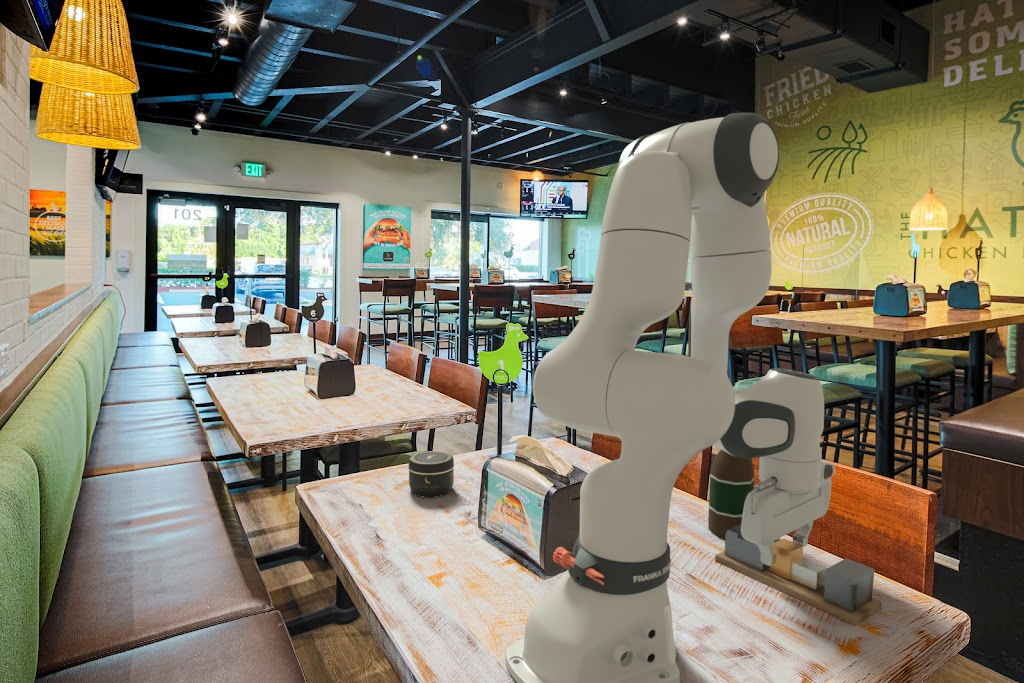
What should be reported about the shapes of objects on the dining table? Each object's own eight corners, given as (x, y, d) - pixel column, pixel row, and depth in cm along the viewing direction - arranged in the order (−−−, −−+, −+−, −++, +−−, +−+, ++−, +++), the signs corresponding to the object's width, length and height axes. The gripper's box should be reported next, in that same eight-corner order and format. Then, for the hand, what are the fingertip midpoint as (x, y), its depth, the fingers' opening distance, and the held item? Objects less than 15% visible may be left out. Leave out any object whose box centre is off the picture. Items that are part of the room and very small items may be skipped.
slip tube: (814, 591, 91) (816, 561, 90) (733, 555, 102) (734, 528, 101) (826, 584, 93) (828, 555, 92) (745, 549, 104) (746, 524, 103)
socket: (852, 613, 85) (854, 580, 84) (823, 600, 88) (826, 568, 88) (871, 600, 88) (874, 568, 88) (843, 588, 92) (846, 558, 91)
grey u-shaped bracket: (762, 572, 97) (763, 544, 96) (724, 555, 102) (725, 528, 102) (781, 563, 100) (782, 535, 99) (743, 547, 105) (744, 521, 105)
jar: (405, 498, 129) (404, 464, 129) (412, 482, 139) (412, 450, 138) (451, 498, 130) (451, 464, 129) (455, 482, 139) (455, 450, 139)
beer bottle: (755, 543, 109) (762, 413, 106) (710, 539, 111) (716, 410, 108) (747, 525, 117) (754, 403, 114) (705, 521, 118) (710, 401, 115)
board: (855, 625, 84) (856, 618, 84) (715, 560, 103) (715, 554, 102) (881, 608, 88) (882, 601, 88) (742, 548, 107) (742, 543, 107)
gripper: (771, 492, 86) (766, 583, 88) (840, 463, 98) (835, 543, 100) (732, 479, 91) (728, 566, 93) (802, 453, 103) (798, 530, 105)
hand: (784, 554), depth 97 cm, fingers open, 8 cm apart
